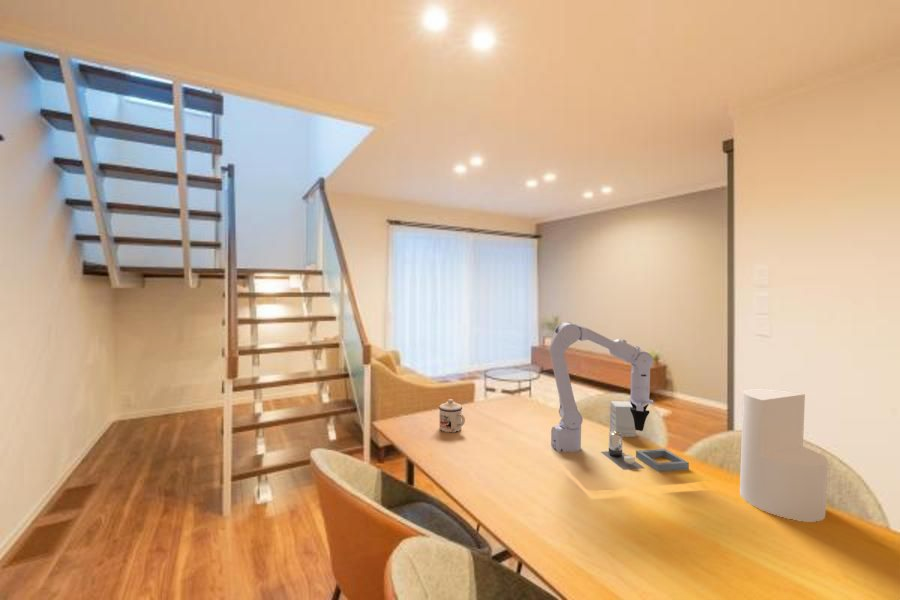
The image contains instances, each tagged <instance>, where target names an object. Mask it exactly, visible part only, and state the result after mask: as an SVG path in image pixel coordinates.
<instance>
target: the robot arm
mask: <svg viewBox="0 0 900 600" xmlns="http://www.w3.org/2000/svg"><path fill="white" fill-rule="evenodd" d="M578 341H581V342H583V341H591V342H592V343H595V344H596V345H599V346H601V347H604V348H606V349H608V350H609V353H610V355H611V356H613V357H616V358H618V359H619V360H621V361H624V362H626V363H628V364H631V371H630V398H629V402H630V403H631V405H632V407H633V408H631V407H630V411H631V413H632V415H633V418H634V424H635V429H636V431H640V432H643V431H644V427H645V423H646V419H647V417H648V416H649V415H650V410H647V409H648V406H649V405H650V404H654V400H653V399H650V394H651V393H650V390H651V385H650V384H651V368H652V367H653V366H654V363H655V361H654V359H653V357H652V355H651V354H650V353H649V352H647V351H644V350H642V349H641V348H640V347H639V346H635V345H632V344H630V343H628V341H627V340H626V339H623V338H621V339H615V340H612V339H610V338H608V337H606V336H604V335H601V334H600V333H598V332H596V331H594V330H592V329H590V328H588V327H586V326H581V325H578V324H575V323H574V324H573V323H572V322H570V321H562V322H560V323H559V324H558V326H557V327H556V328H555V329H554V331H553V335H552V338H551V340H550V343H549V345H548V350H549V357H550V361H551V365H552V369H553V370H552V371H553V375H554V379H555V383H556V390H557V394H558V396H559V397H558V398H559V408H558V414H559V417H561V419H560V421H559V422H558V425H555V426H552V427H551V429H550V431H551V432H550V435H551V436H550V445H551V447H552V448H553V449H555V450H556V451H557V452H558V453H562V452H572V453H575V452H576V453H577V452H579V451H581V450H582V446H581V445H582V424H583V422H584V421H583V420H584V419H583V416H582V414H581V412H580V411H579V409H578V406H577V403H576V400H575V396H574V392H573V391H574V390H573V388H572V383H571V379H570V374H569V370H568V365H567V360H566V355H565V353H566V351H567V350H568V349H569V347H570V346H572V345H574V344H575V343H576V342H578Z"/></svg>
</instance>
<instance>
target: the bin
mask: <svg viewBox="0 0 900 600" xmlns="http://www.w3.org/2000/svg"><path fill="white" fill-rule="evenodd" d="M635 457H636V458H637V459H638V460H640V461H641V462H643V463H644V464H646V465H647V466H648V467H650V468H651V469H653V470H654V471H656V472H668V471H669V472H672V471H673V472H674V471H683V470H685V471H686V470H689V469H690V468H689V467H690V462H689V461H687V460H685V459H684V458H681V457H679V456H678V455H677V454H674V453H673V452H671V451H669V450H668V449H666V448H657V449H644V450H643V449H642V450H635ZM654 458H665V459H667V460H668V461H667V462H658V461H656V459H654Z"/></svg>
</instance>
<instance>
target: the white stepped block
mask: <svg viewBox="0 0 900 600" xmlns="http://www.w3.org/2000/svg"><path fill="white" fill-rule="evenodd" d="M805 398H806V394H805V393H800V392H795V391H789V390H782V389H781V390H780V389H774V388H773V389H770V388H749V389H745V390H743V391H742V414H741V416H742V417H741V418H742V420H741V446H740V447H741V448H740V451H741V452H740V477H739V478H740V479H739V494H740V497H741V498H742V499H743V500H744V501H745V502H746V501H747V502H746V503H747V504H749V505H750V504H751V505H750V506H752V505H753V507H754V506H755V508H756V507H757V508H756V509H758V508H759V509H758V510H760V509H761V510H760V511H762V510H764V511H766V512H765V513H767V512H768V513H767V514H769V513H771V514H770V515H772V514H774V515H773V516H775V515H777V516H776V517H778V516H780V517H779V518H781V517H784V518H783V519H785V518H789V519H793V520H792V521H794V520H798V521H797V522H801V521H803V523H817V522H821V521H823V520H825V519H826V512H827V510H826V508H827V490H828V489H827V483H828V482H827V481H828V462H829V460H828V459H827V457H826V456H824V455H823V454H821V453H820V452H818V451H815V450H814V449H811V448H808V447H805V446H804V429H805V427H804V426H805V425H804V423H805V400H806V399H805ZM764 511H763V512H764ZM789 519H788V520H789ZM816 521H817V522H816Z"/></svg>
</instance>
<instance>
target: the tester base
mask: <svg viewBox="0 0 900 600" xmlns="http://www.w3.org/2000/svg"><path fill="white" fill-rule="evenodd" d="M600 453H601V454H603V455H604V456H605V457H607V458H608V459H609V460H611V462H613V463H614V464H616V465H617V466H618V467H619V468H621V469H622V470H625V471H626V470H636V469H638V470H639V469H645V466H642V465H641V464H640V463H638V462H637V461H636V460H635V463H634V464H628V463H625V462H624V456H625V455H627V454H625V453H624V452H623V451H622V457H620V458H616V457H612V456H610V455H609V450H608V451H600Z"/></svg>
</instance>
